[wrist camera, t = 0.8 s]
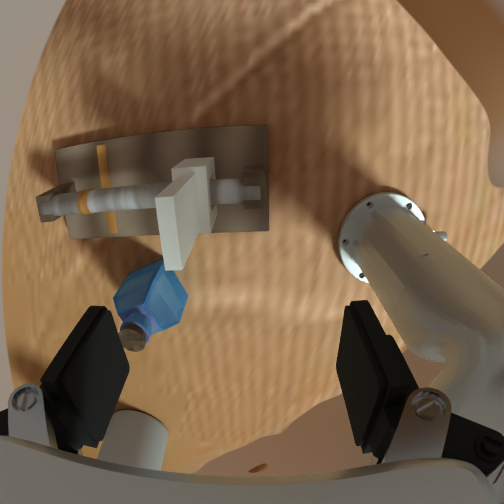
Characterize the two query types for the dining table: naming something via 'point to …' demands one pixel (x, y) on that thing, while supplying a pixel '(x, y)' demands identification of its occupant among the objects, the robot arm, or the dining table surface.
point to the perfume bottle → (148, 304)
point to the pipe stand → (158, 180)
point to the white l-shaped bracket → (185, 209)
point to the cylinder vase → (134, 440)
